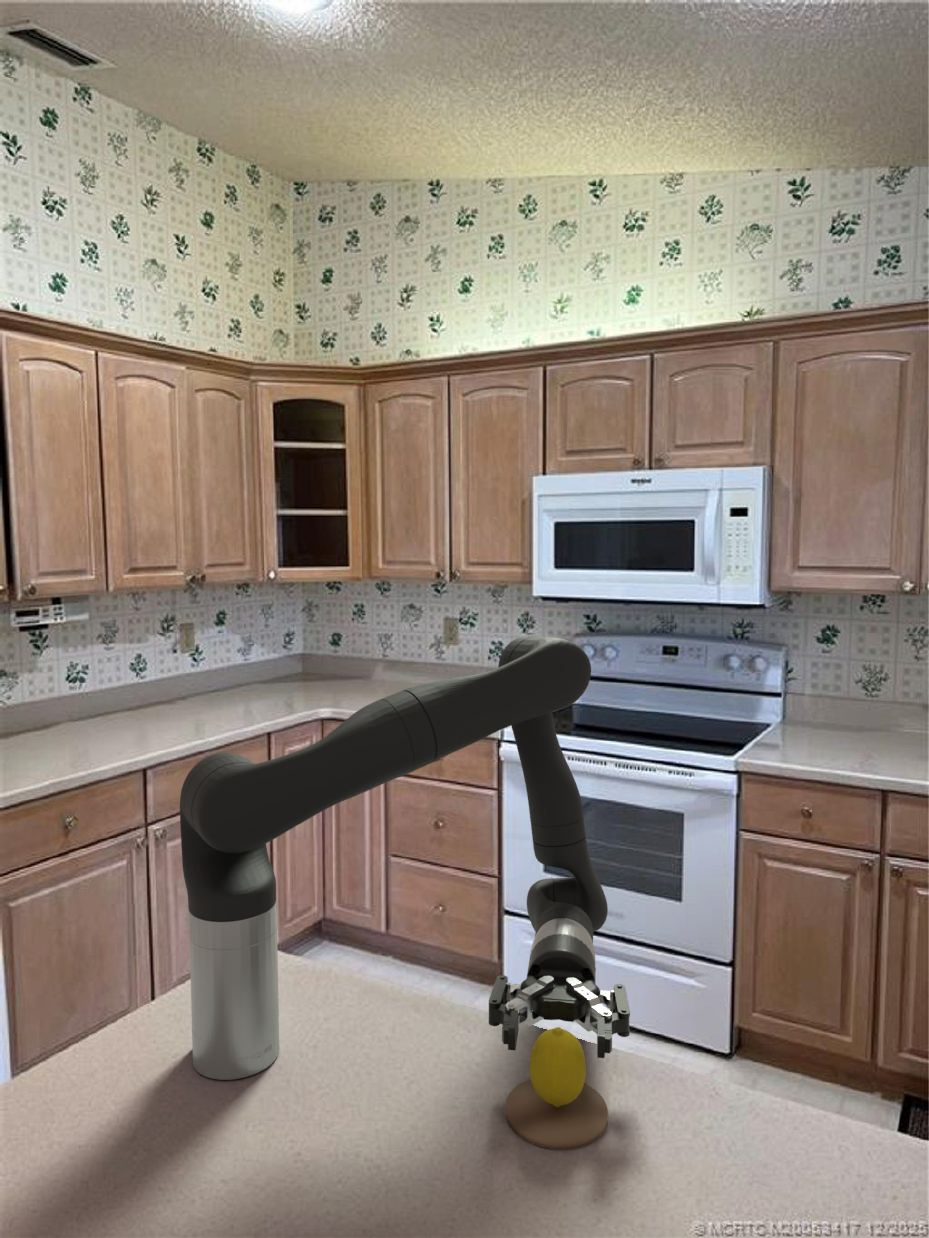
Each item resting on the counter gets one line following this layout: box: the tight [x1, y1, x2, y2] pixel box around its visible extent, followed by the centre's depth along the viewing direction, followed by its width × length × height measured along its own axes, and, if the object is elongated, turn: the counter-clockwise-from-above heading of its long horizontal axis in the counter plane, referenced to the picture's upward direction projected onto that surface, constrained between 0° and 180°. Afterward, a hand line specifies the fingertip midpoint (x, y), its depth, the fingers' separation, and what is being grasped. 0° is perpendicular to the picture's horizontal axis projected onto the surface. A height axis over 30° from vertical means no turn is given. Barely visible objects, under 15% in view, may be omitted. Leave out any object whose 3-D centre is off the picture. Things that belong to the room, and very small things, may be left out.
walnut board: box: [505, 1078, 609, 1151], centre depth 86 cm, size 10×10×1 cm
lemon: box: [529, 1026, 587, 1107], centre depth 85 cm, size 6×6×8 cm
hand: (556, 1045), depth 83 cm, fingers open, 8 cm apart
